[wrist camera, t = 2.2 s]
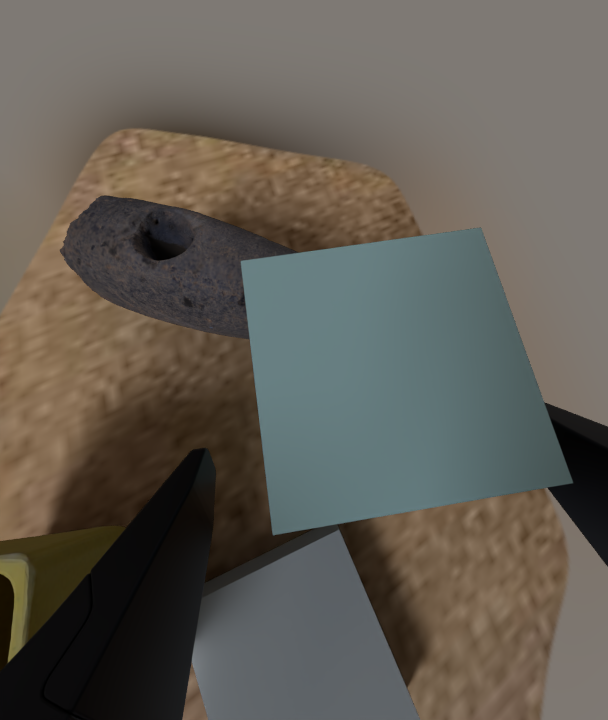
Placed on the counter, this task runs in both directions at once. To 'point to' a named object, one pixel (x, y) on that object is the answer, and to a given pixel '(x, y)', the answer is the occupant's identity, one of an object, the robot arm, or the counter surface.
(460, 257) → the pillar
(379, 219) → the counter surface
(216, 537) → the counter surface
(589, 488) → the robot arm
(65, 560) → the flower pot
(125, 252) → the perforated stone tool
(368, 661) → the tile
